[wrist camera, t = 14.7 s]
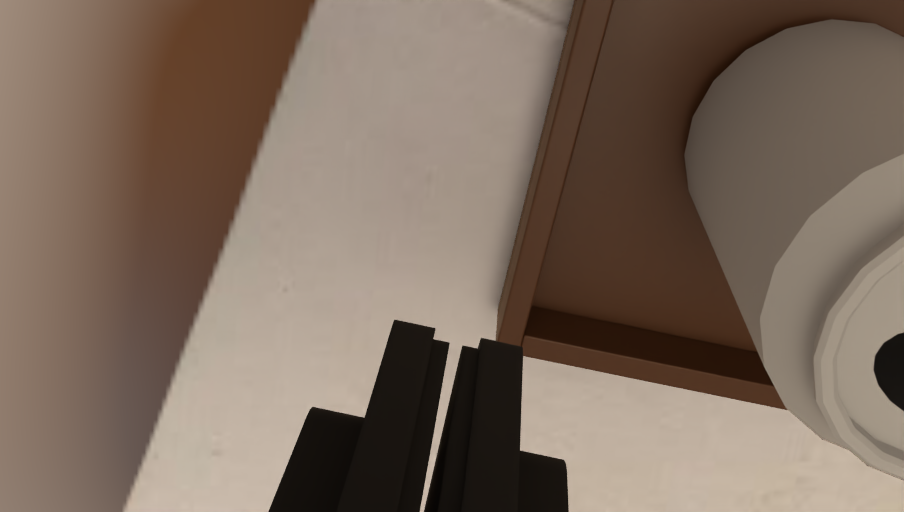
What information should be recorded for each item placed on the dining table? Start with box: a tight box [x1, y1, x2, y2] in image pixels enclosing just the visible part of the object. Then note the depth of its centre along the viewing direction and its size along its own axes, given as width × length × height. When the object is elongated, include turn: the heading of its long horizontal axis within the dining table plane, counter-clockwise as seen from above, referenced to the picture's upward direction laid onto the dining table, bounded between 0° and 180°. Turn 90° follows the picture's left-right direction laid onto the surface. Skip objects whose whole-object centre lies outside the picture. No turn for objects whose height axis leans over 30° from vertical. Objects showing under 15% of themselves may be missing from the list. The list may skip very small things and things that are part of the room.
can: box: [684, 19, 904, 480], centre depth 20 cm, size 8×8×12 cm
